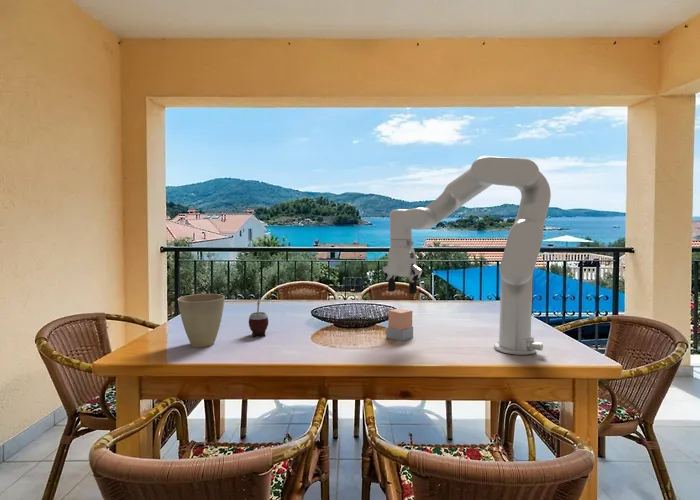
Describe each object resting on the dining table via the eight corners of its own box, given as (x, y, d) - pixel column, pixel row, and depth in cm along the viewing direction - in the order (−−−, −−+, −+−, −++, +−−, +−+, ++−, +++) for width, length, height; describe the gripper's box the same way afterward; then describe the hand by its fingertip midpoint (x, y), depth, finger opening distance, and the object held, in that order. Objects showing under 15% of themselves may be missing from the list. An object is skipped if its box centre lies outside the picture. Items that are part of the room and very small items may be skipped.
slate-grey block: (413, 337, 155) (413, 326, 154) (403, 341, 149) (403, 330, 149) (396, 334, 159) (396, 323, 159) (386, 338, 153) (386, 327, 153)
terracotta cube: (412, 327, 153) (412, 310, 153) (400, 330, 149) (401, 313, 149) (399, 324, 158) (399, 308, 157) (388, 326, 154) (388, 310, 153)
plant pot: (179, 340, 149) (178, 295, 148) (223, 336, 154) (223, 292, 153) (178, 352, 135) (177, 302, 134) (227, 348, 140) (226, 299, 139)
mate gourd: (258, 331, 161) (257, 292, 160) (274, 334, 157) (274, 294, 156) (243, 336, 154) (243, 295, 154) (260, 339, 150) (259, 297, 149)
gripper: (427, 243, 148) (428, 293, 149) (389, 243, 161) (391, 289, 161) (413, 245, 143) (414, 295, 144) (376, 244, 155) (377, 291, 156)
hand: (402, 292), depth 153 cm, fingers open, 9 cm apart
